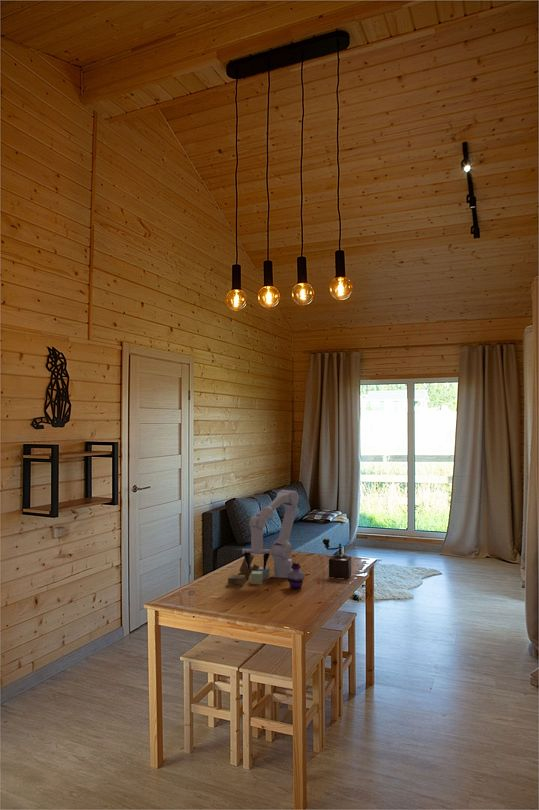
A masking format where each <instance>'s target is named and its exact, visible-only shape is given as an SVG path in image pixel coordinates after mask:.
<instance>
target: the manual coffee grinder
mask: <svg viewBox="0 0 539 810" xmlns="http://www.w3.org/2000/svg"><path fill="white" fill-rule="evenodd" d="M330 541H331V540H330V539H329V538H324V539H322V543H323V545H324V548H325V549H326V550H327V551H332V550H334V551H335V550H339V551H338V553H336V554H333V555H332V556H330V557H329V559H328V578H329V577H334V578H333V579H338V578H344V579H343V580H349V579H350V578H351V577H350V576H352V575H351V574H352V556H349V555H346V554H344V553H343V552H342V544H341V543H339V544H338V547H331V546H330ZM330 547H331V548H330Z"/></svg>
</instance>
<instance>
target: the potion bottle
mask: <svg viewBox="0 0 539 810" xmlns="http://www.w3.org/2000/svg"><path fill="white" fill-rule="evenodd" d="M291 568H292V571H290V572H288V573H287V576H288V578H286V579H287V582H289V586H290V587H289V589H291V588H292V589H291V590H301V589H302V587H303V581H304V579H305V575H306V574H305V572H303V571H301V570H300V569H301V565H300V562H297V561H294V562H293V561H292V565H291ZM300 588H301V589H300Z"/></svg>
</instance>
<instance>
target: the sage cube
mask: <svg viewBox="0 0 539 810" xmlns="http://www.w3.org/2000/svg"><path fill="white" fill-rule="evenodd" d="M263 581H264V579H263V571H253V570H252V571H251V573H250V584H252V585H262V584H263V583H264V582H263Z"/></svg>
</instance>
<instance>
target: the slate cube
mask: <svg viewBox="0 0 539 810" xmlns="http://www.w3.org/2000/svg"><path fill="white" fill-rule="evenodd" d="M258 571H263V580H269V579H270V567H269V566H266V569H263V566H259V569H258Z"/></svg>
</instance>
